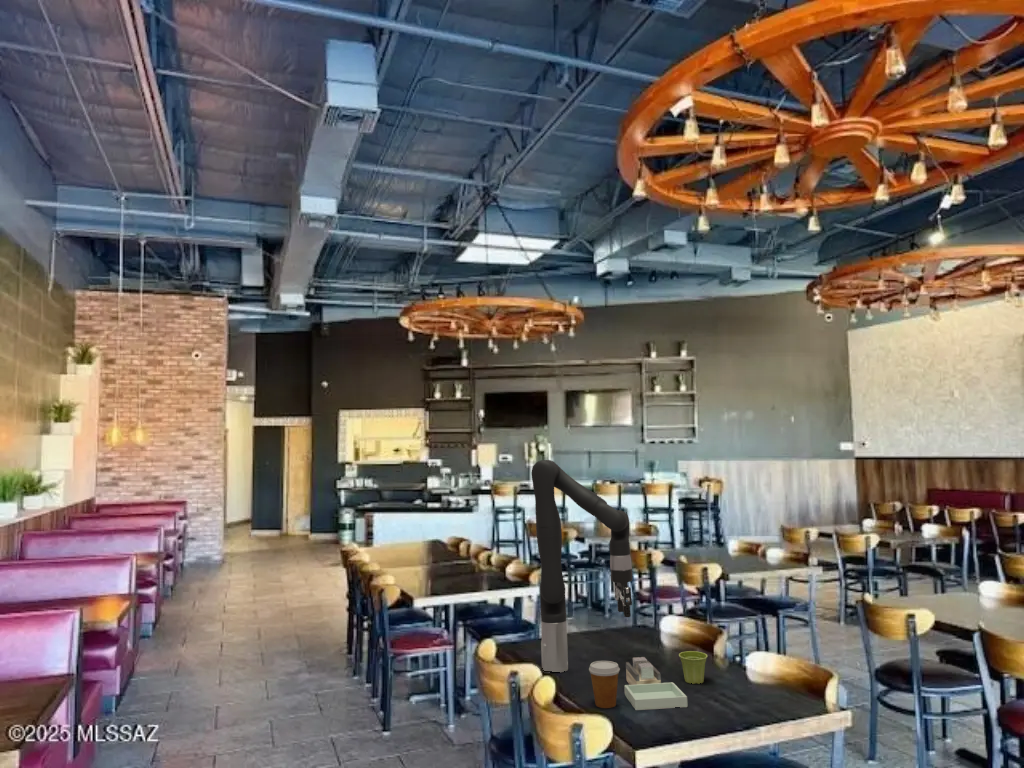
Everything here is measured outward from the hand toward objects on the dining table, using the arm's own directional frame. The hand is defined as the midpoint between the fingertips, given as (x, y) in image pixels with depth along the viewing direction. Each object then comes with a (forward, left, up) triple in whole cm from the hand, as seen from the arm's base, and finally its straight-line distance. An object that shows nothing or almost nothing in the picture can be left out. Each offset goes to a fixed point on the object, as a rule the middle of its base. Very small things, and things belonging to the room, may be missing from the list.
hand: (624, 614), depth 254 cm
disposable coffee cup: (-14, -29, -21) cm, 38 cm away
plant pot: (+20, -12, -21) cm, 31 cm away
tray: (+2, -28, -20) cm, 35 cm away
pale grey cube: (+2, -18, -16) cm, 24 cm away
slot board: (+2, -14, -20) cm, 25 cm away
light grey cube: (+2, -11, -16) cm, 20 cm away
